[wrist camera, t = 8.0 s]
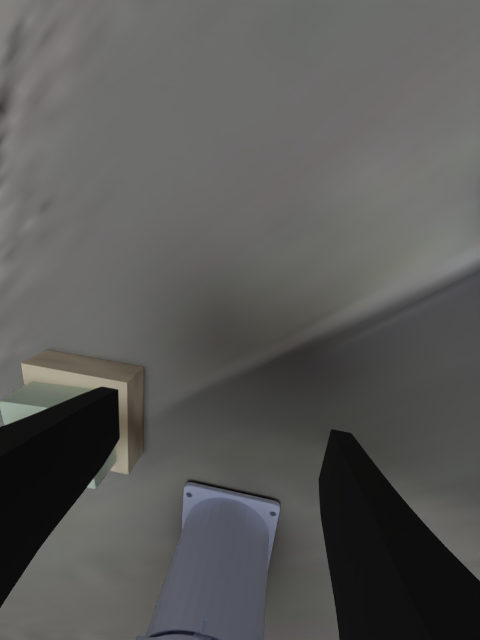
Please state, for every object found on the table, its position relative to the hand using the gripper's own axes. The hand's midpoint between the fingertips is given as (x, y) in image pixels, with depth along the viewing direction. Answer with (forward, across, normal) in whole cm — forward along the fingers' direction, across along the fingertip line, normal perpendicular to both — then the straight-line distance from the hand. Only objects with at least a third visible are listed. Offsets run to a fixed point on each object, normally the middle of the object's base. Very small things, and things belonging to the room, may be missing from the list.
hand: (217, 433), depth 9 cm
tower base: (+11, +12, +8) cm, 18 cm away
